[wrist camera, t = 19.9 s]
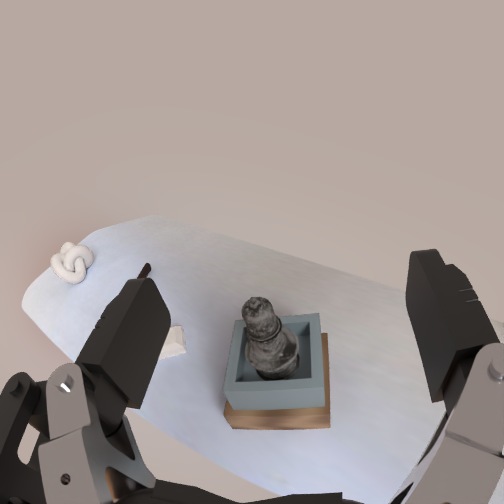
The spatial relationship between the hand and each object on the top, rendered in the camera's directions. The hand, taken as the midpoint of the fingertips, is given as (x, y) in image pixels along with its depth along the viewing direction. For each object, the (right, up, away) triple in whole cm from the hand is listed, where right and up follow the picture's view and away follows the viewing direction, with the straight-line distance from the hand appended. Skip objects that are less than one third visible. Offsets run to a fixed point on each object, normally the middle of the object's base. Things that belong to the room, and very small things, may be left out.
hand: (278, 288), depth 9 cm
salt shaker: (+2, -12, +26) cm, 28 cm away
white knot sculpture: (-47, -6, +65) cm, 81 cm away
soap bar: (-16, -15, +40) cm, 45 cm away
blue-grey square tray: (+3, -13, +27) cm, 30 cm away
